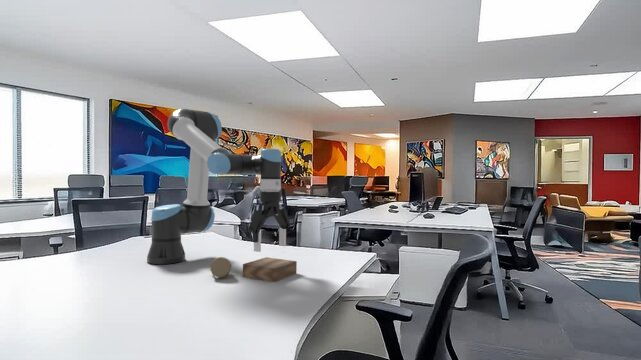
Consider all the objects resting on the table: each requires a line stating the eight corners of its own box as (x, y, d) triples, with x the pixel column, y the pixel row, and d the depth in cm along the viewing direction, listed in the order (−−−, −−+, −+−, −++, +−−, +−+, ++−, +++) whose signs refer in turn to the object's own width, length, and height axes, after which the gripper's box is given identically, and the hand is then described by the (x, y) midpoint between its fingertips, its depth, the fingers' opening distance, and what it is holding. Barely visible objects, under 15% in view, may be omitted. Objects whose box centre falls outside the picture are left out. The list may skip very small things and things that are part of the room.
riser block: (242, 277, 141) (242, 264, 141) (266, 270, 153) (266, 257, 153) (274, 283, 134) (274, 268, 134) (296, 274, 146) (296, 261, 146)
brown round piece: (233, 271, 148) (239, 252, 142) (222, 289, 139) (228, 271, 134) (215, 263, 148) (220, 244, 142) (203, 281, 139) (208, 262, 134)
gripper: (253, 192, 131) (253, 255, 131) (299, 190, 152) (299, 244, 152) (238, 191, 135) (237, 252, 136) (284, 189, 156) (284, 242, 156)
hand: (270, 248), depth 144 cm, fingers open, 13 cm apart
